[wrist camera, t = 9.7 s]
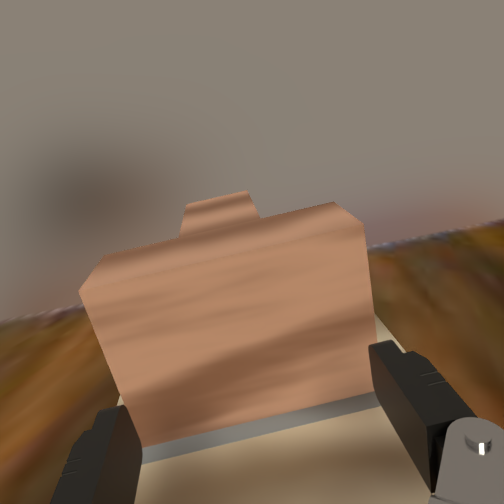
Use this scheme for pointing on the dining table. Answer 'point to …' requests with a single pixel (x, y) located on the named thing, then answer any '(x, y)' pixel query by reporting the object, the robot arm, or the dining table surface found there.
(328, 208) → the T block
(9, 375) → the dining table surface
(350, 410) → the board
